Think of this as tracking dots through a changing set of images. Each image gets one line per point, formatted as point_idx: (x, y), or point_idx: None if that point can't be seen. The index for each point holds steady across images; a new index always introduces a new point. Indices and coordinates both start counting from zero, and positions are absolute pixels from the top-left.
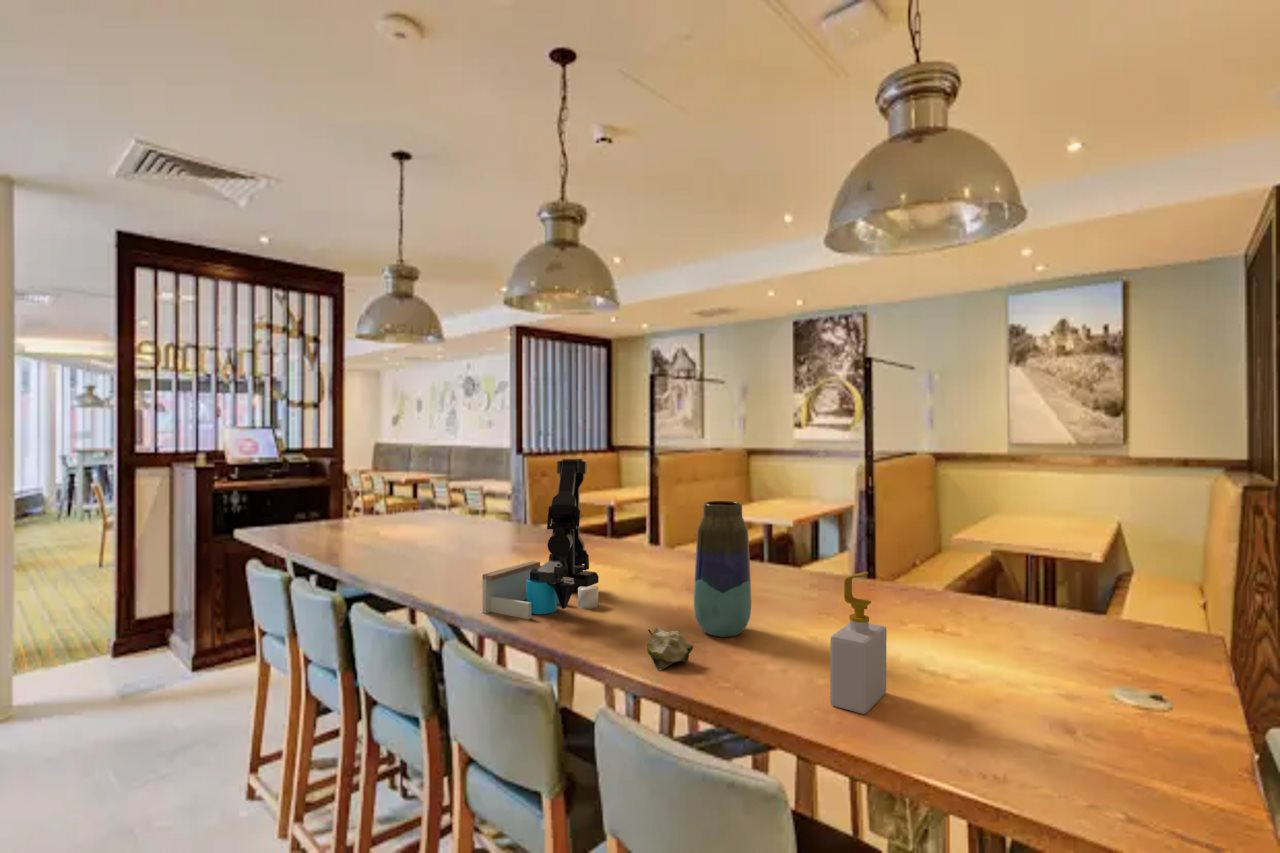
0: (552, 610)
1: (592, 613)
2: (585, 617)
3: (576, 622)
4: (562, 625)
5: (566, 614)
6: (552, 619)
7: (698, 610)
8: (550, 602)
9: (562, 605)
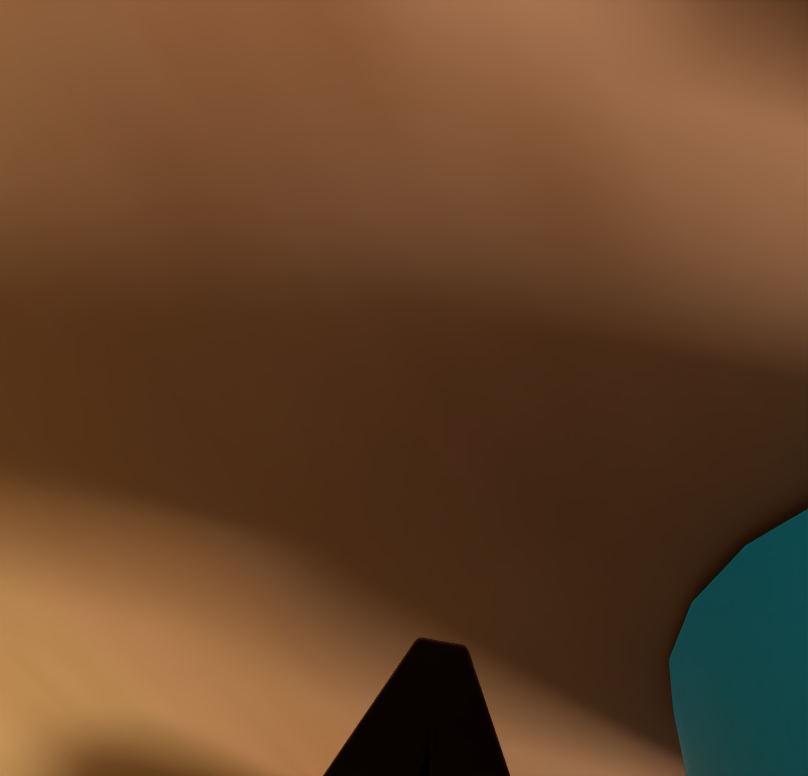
0: (694, 641)
1: (138, 699)
2: (89, 550)
3: (10, 299)
4: (68, 8)
5: (417, 594)
6: (489, 288)
7: None
8: (771, 765)
9: (426, 685)
